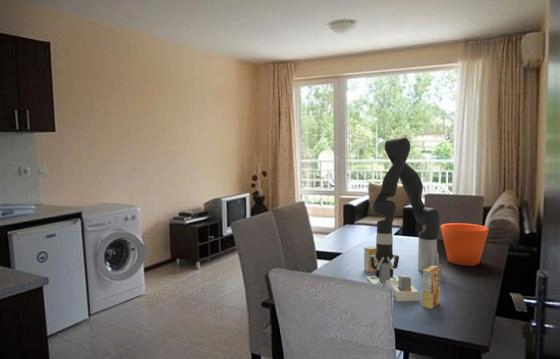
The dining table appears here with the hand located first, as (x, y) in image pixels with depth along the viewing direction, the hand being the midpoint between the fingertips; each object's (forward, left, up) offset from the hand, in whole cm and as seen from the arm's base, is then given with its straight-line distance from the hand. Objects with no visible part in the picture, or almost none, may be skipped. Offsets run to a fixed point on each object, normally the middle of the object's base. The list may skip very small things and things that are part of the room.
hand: (384, 276), depth 195 cm
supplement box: (0, -19, -4) cm, 19 cm away
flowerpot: (-56, -34, -4) cm, 66 cm away
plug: (0, 0, -2) cm, 2 cm away
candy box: (-11, +28, -4) cm, 30 cm away
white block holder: (-3, +15, -3) cm, 16 cm away
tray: (0, 0, -3) cm, 3 cm away
